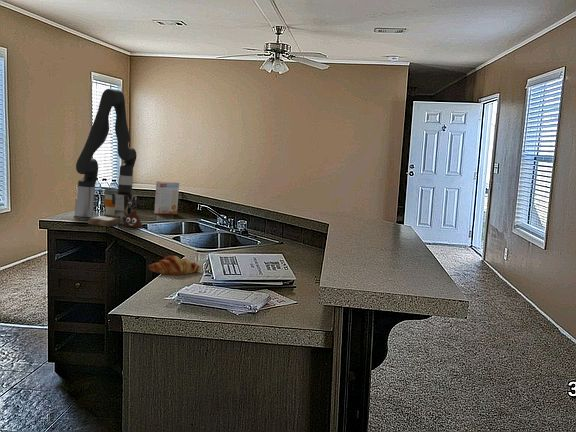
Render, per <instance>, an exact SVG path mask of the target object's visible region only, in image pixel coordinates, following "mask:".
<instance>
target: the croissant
mask: <svg viewBox="0 0 576 432" xmlns="http://www.w3.org/2000/svg"><path fill="white" fill-rule="evenodd" d="M147 268H148V270H150V271H151V272H153V273H156V274H160V275H171V276H175V275H176V276H178V275H179V276H181V275H183V276H184V275H187V274H193V273H198V272H200V271H201V270H202V265H199V264H198V263H196V262H192V261H191V260H189V259H187V258H180V257H179V256H177V255H167V256H165V257H164V258H163V259H159V260H158V261H157V262H153V263H151V264H148V266H147Z"/></svg>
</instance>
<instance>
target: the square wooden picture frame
mask: <svg viewBox="0 0 576 432" xmlns="http://www.w3.org/2000/svg"><path fill="white" fill-rule="evenodd" d="M87 225H95V226H101V227H107V228H108V227H109V228H110V227H113V226H118V225H121V224H120V219H118V218H114V217H113V216H112V217H109V216H104V215H100V216H99V215H98V216H93V217H87Z"/></svg>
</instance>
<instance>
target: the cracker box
mask: <svg viewBox="0 0 576 432" xmlns="http://www.w3.org/2000/svg"><path fill="white" fill-rule="evenodd" d="M155 184H156V185H155V197H154V212H153V213H154V214H155V215H177V214H178V205H179V204H178V203H179V189H180V182H177V181H161V180H159V181H156V183H155Z"/></svg>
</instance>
